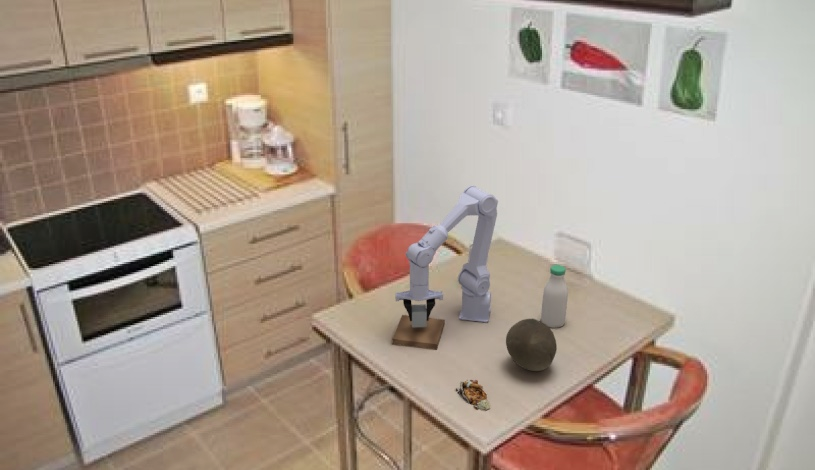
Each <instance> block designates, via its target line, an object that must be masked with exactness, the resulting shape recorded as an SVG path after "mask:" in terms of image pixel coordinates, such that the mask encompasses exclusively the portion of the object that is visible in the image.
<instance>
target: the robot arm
mask: <svg viewBox="0 0 815 470" xmlns="http://www.w3.org/2000/svg"><path fill="white" fill-rule="evenodd" d="M458 199H459V200H458V202H457V203H456V205H455V206H454V207H453V208H452V209H451V210H450V212H449V213H448V214H447V215H446V216H445V217H444V219H443V220H442V221H441V223H440V224H435V225H433V226H432V227H430V228H429V230H428V231H427V232H426V233H425V234H424V235H423V236H422V237H421V238H420V239H419V241H417V242H415V243H412V244H411V245H409V246H408V248H407V251H406V252H405V257H406V259H408V264H409V290H406V291H400V292H395V293H394V294H395V302H399V301H403V302H402V303H403V306H404V308H405V310H406V313H407V314H408V316H409V318H410V321H412V305H413V303H412V301H415V302H416V301H417V302H421V301H422V302H423V301H425V302H426V303H425V304H426V310H427V321H429V318H430V315H431V313H432V311H433V309H434V307H436V300H439V301H444V293H443V291H438V290H437V291H436V290H429V287H430V284H429V282H430V281H429V278H430V277H429V275H430V271H429V270H430V266H429V265H431V263H432V262H433V260H434V256H436V255H435V254H436V252H437V250H438V249H439V248H441V246H442V245H443V244H444V243H446V241H447V240H448V238H449V237H448V235H449V232H451V230H453V228H455V227H456V226H457V225H458V224H459V223H460V222H461V221H462V220H464V219H465V218H466V217H467V216H477V217H478V219H477V223H476V228H475V233H474V236H473V240H472V241H473V242H472V244H473V245H472V250H471V254H470V259H469V262H466V263H464V264H463V265H462V268H461V270H460V272H459V274H458V277H457V281H458V283H459V284H460V286H461V289H462V291H461V292H462V294H461V295H462V296H461V309H460V312H459V316H458V319H459V320H463V321H471V322H472V321H473V322H480V323H488V322H489V319H490V314H491V311H492V308H491V303H492V302H491V301H492V292H490V291H489V289H490V287H491V282H490V277H491V274H490V272H489V270H488V266H487V267H486V262H487V258H488V259H489V253H490V248H491V244H492V239H493V236H494V235H493V234H494V229H495V226H496V221H497V217H498V210H497V208H498V204H499V200H498V199H497V198H496V197H495V196H494V195H493V194H491V193H489V192H486V191H484V190H482V189H480V188H479V187H477V186H475V185H469V186H467V187H466V188H465V189H464V190H463V191H462V192H461V193H460V194H459V198H458Z"/></svg>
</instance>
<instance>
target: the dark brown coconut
mask: <svg viewBox="0 0 815 470" xmlns="http://www.w3.org/2000/svg"><path fill="white" fill-rule="evenodd" d="M505 345H506V349H507V352H508V355H509V356H510V357H511V360H513V361H514V363H515V364H517V365H518V366H520V367H521V368H522V369H525V370H528V371H532V372H541V371H543V370H545V369H547V368H549V367H550V366H551V365H552V363H553V361H554V358H555V357H556V354H557V349H558V347H557V341H556V337H555V335H554V332H553V331H552V330H551V327H548V326H547V325H545V324H544V323H542V322H541V320H538V319H535V318H534V319H533V318H525V319H522V320H519V321H517V322H516V323H514V324H513V325H511V327H510V328H509V330H508V332H507V334H506V336H505Z"/></svg>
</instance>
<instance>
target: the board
mask: <svg viewBox="0 0 815 470" xmlns="http://www.w3.org/2000/svg"><path fill="white" fill-rule="evenodd" d="M445 322H446V321H445V319H443V318H442V319H441V318H433V317H429V321H427V327H412V321H410V318H409V315H406V314H405V315H404V314H402V315H401V317H400V319H399V322H398V324H397V326H396V329H395V331H394V334H393V336H392V339H391V342H392V343H391V344H392V345H396V346H403V347H413V348H419V349H420V348H422V349H429V350H438V348H439V344H440V342H441V338H442V334H443V331H444V328H445Z"/></svg>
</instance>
